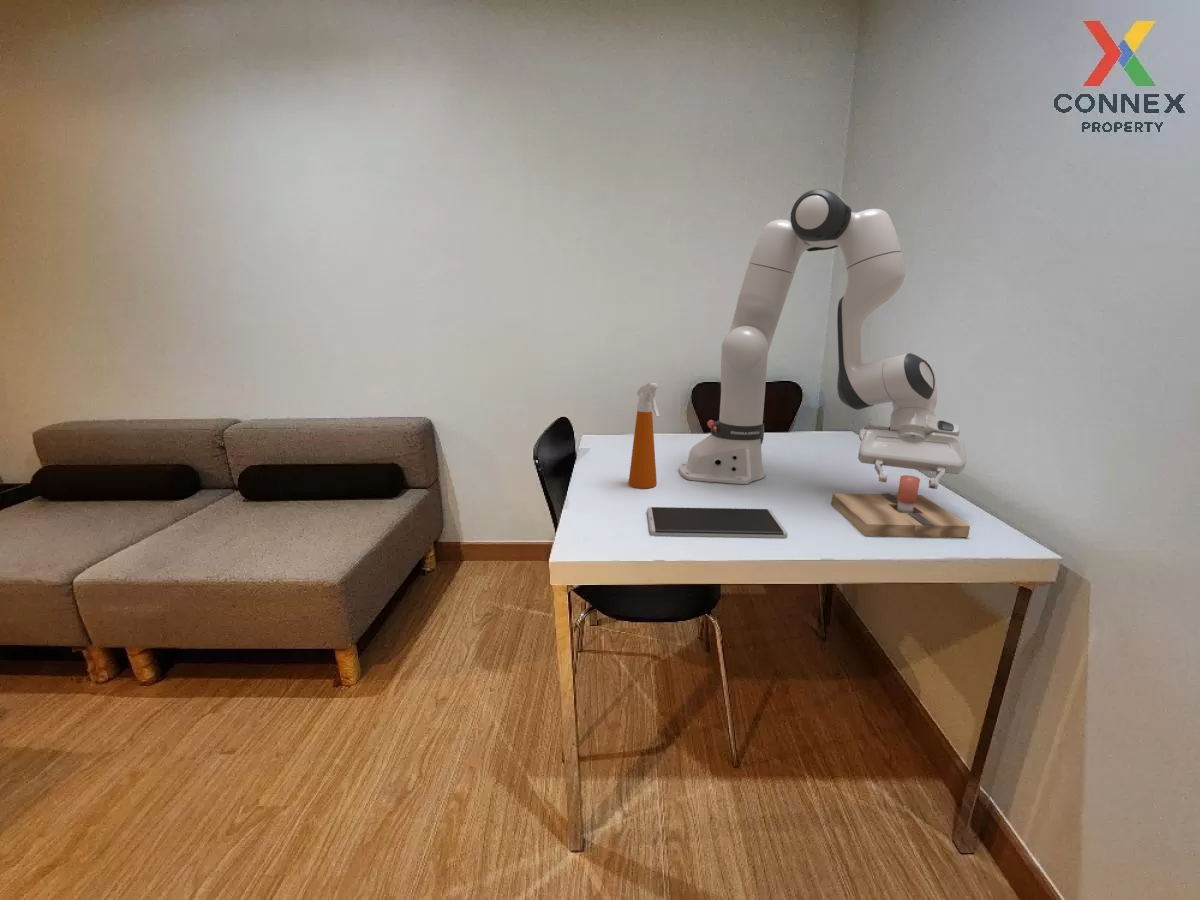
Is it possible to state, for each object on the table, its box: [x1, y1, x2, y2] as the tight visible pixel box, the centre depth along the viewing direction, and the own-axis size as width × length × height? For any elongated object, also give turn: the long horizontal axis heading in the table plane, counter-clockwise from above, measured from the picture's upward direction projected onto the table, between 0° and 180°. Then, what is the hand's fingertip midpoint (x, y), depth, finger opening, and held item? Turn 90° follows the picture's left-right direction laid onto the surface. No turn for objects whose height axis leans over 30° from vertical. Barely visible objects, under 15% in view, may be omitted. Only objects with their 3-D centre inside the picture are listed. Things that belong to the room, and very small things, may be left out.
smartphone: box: [646, 506, 789, 539], centre depth 115 cm, size 13×27×2 cm, turn 88°
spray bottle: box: [628, 382, 660, 490], centre depth 134 cm, size 7×11×26 cm, turn 22°
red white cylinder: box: [897, 475, 921, 513], centre depth 116 cm, size 4×4×9 cm
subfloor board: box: [830, 492, 971, 538], centre depth 117 cm, size 20×18×3 cm
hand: (907, 484), depth 117 cm, fingers open, 8 cm apart
